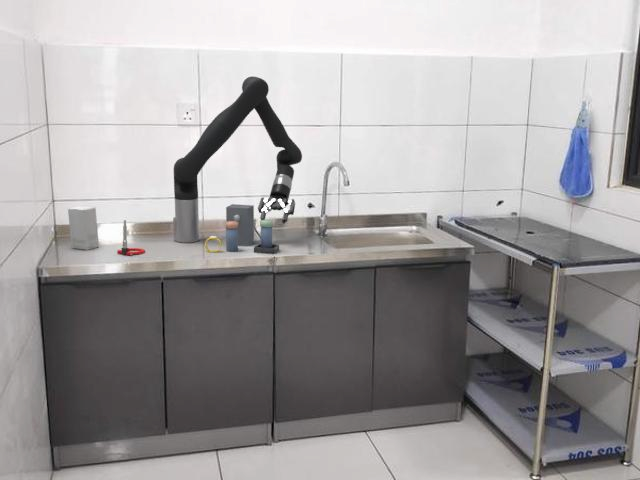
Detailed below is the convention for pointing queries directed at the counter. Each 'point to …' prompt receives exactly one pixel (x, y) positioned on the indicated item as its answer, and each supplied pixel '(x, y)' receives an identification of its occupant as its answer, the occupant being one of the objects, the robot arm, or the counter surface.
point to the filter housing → (242, 222)
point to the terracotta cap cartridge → (231, 236)
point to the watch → (213, 238)
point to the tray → (266, 249)
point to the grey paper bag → (83, 227)
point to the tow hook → (126, 250)
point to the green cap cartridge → (266, 233)
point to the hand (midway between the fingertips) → (273, 221)
